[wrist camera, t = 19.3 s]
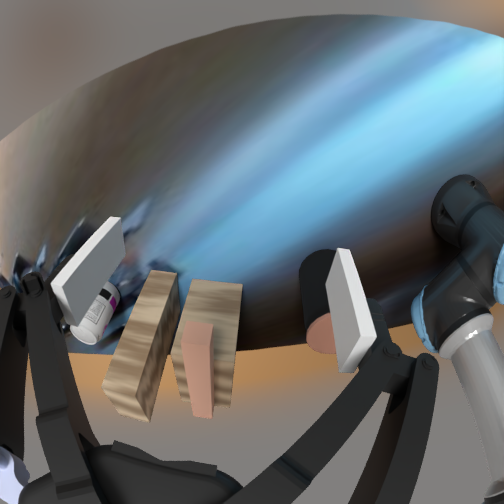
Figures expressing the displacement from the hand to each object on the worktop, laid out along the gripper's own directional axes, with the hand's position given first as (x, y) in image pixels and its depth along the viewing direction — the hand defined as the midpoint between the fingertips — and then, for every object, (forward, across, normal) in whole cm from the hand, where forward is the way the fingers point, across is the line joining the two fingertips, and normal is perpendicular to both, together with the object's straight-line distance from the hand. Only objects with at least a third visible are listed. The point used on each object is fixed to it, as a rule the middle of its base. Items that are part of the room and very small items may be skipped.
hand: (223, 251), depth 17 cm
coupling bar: (+14, -4, -36) cm, 39 cm away
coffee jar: (+35, +17, -24) cm, 46 cm away
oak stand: (+34, -9, -41) cm, 54 cm away
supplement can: (+34, -34, -40) cm, 62 cm away
